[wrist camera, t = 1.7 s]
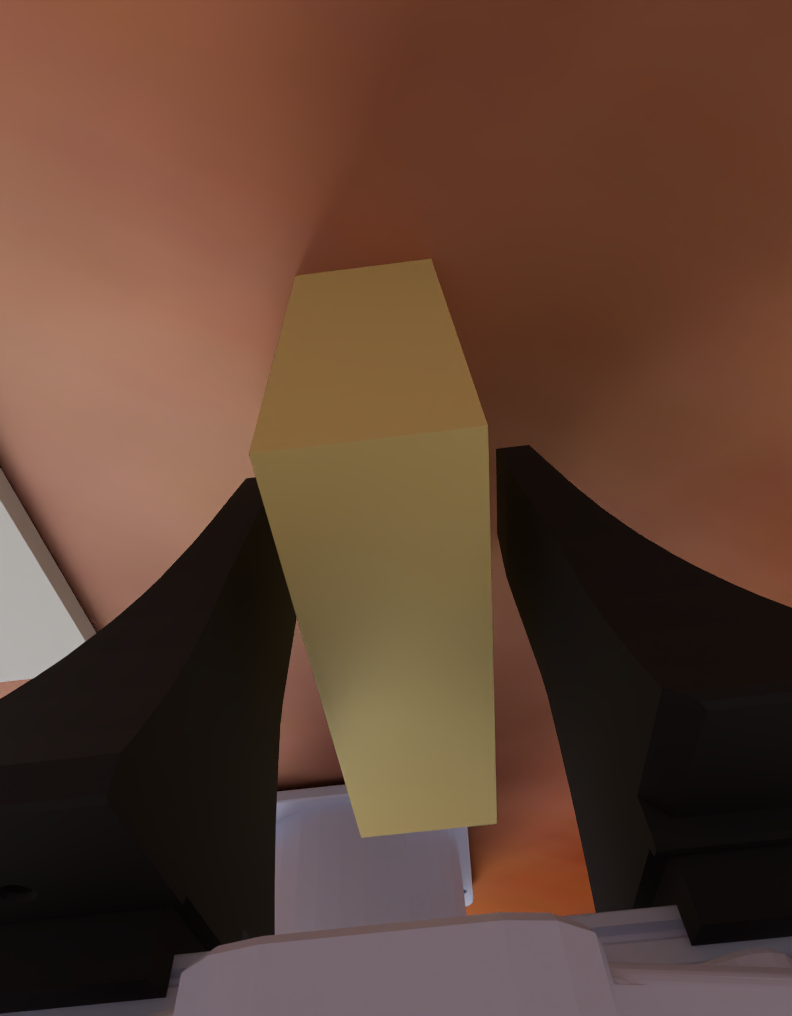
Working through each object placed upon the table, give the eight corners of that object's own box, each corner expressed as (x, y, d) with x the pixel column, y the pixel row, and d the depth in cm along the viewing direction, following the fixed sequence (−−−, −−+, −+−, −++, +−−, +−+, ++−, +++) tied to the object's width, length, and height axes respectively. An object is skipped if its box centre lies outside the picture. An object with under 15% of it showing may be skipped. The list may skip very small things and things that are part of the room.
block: (454, 585, 16) (496, 823, 11) (359, 596, 16) (361, 837, 11) (430, 257, 11) (487, 425, 6) (295, 274, 11) (249, 454, 6)
